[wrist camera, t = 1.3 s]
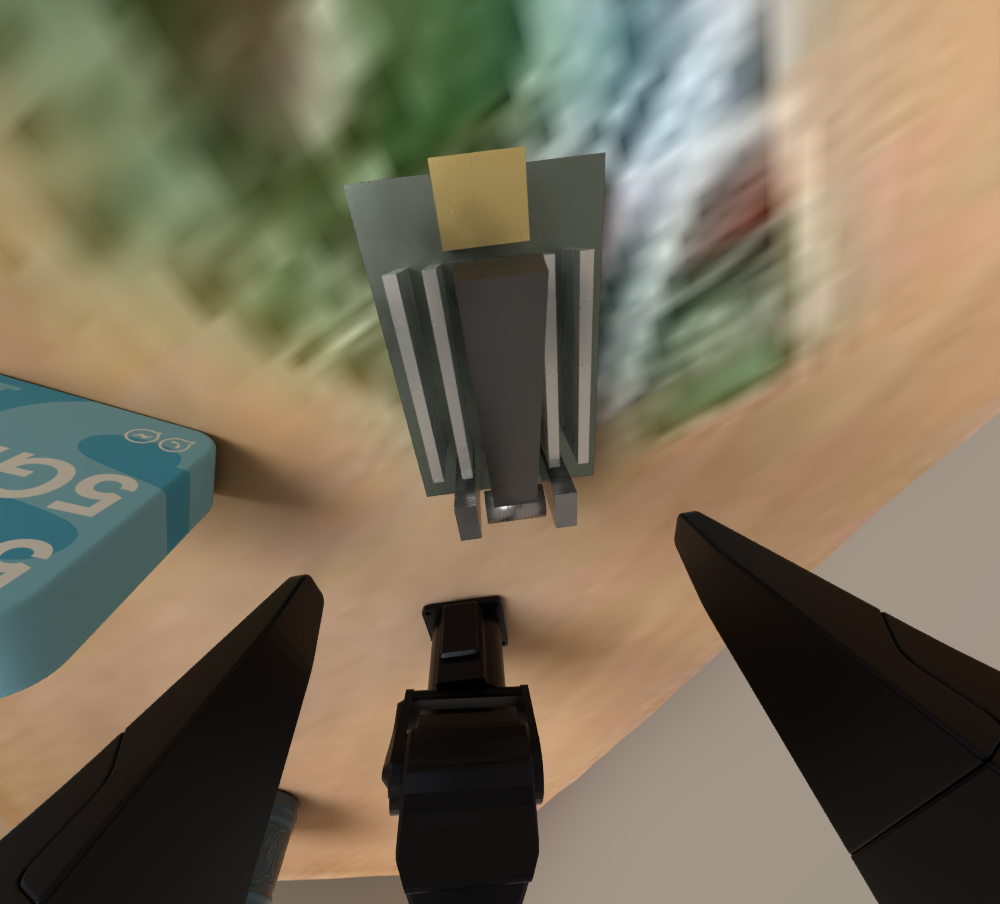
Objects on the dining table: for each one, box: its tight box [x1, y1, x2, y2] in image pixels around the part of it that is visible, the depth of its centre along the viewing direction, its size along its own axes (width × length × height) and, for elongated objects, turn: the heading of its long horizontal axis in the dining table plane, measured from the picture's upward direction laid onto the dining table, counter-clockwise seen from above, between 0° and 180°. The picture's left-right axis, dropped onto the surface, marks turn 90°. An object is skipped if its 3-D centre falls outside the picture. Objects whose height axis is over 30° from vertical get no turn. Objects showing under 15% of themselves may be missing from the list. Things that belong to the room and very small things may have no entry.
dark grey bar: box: [453, 252, 549, 524], centre depth 13 cm, size 13×3×2 cm, turn 6°
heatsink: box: [343, 146, 605, 541], centre depth 16 cm, size 15×10×6 cm, turn 6°
